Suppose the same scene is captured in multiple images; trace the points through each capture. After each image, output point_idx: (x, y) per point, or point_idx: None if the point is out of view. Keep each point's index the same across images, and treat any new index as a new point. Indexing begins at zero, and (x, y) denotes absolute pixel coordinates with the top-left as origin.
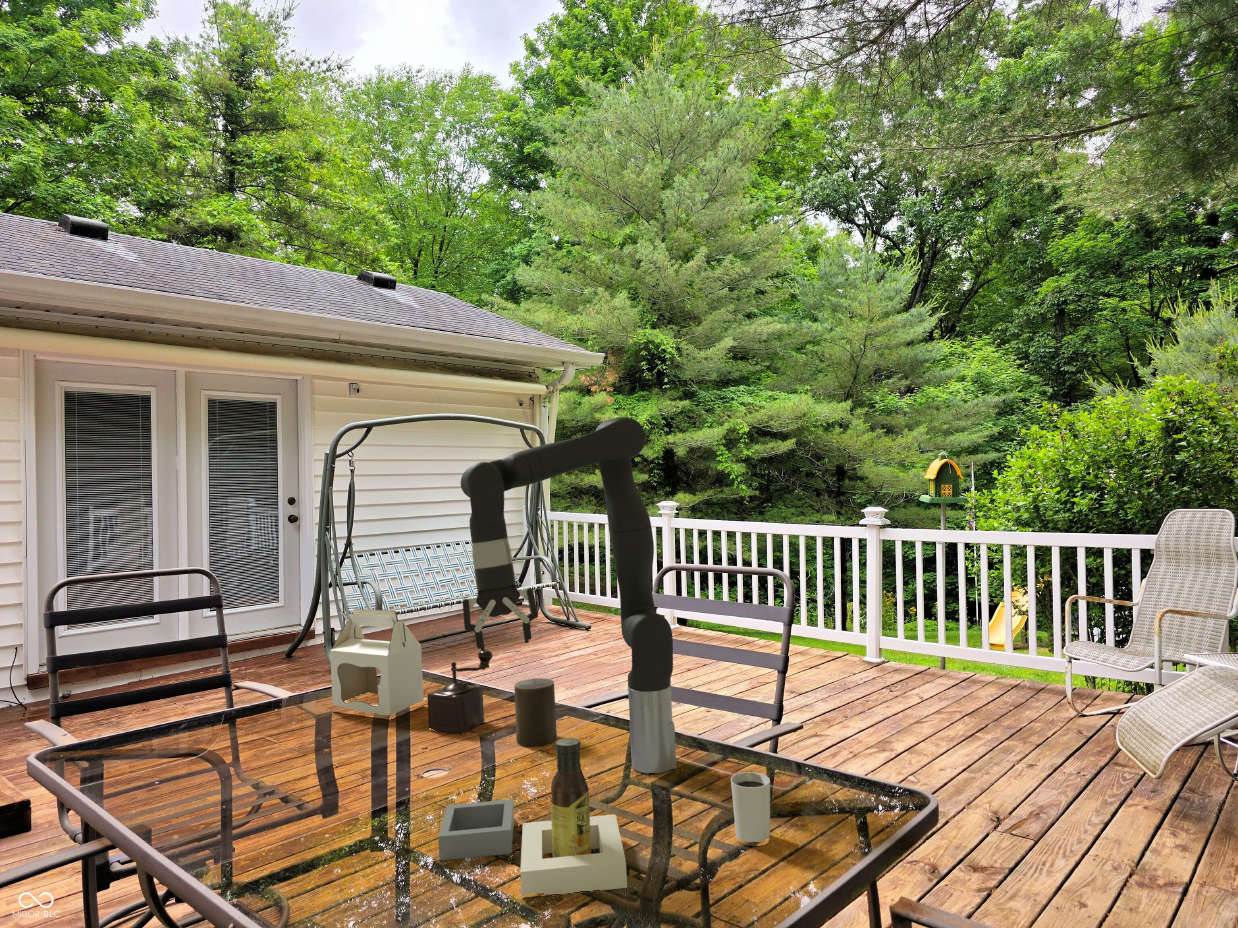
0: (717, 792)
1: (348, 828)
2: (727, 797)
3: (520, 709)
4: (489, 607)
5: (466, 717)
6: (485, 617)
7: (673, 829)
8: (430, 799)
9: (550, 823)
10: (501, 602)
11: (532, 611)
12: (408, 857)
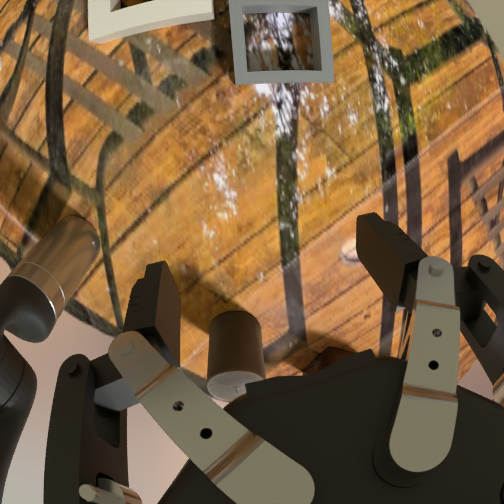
0: (11, 165)
1: (433, 115)
2: (3, 153)
3: (254, 349)
4: (433, 392)
5: (324, 365)
6: (430, 319)
7: (45, 71)
8: (358, 170)
9: (172, 10)
10: (319, 470)
11: (77, 391)
12: (357, 22)
